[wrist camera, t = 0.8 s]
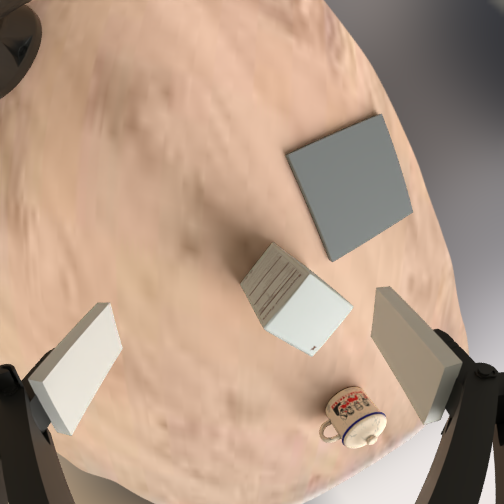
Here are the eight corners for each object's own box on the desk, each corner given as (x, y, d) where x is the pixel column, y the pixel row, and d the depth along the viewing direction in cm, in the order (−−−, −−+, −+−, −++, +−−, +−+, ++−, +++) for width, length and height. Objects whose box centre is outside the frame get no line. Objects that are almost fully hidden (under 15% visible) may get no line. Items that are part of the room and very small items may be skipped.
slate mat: (285, 155, 38) (287, 155, 37) (377, 114, 39) (381, 114, 38) (329, 260, 44) (332, 262, 43) (409, 211, 45) (413, 212, 44)
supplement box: (310, 269, 43) (356, 307, 32) (277, 310, 44) (312, 359, 32) (272, 239, 41) (311, 271, 29) (237, 283, 41) (262, 331, 30)
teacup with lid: (362, 377, 53) (394, 415, 42) (366, 404, 56) (394, 440, 45) (305, 406, 51) (331, 450, 41) (314, 431, 55) (337, 472, 44)
